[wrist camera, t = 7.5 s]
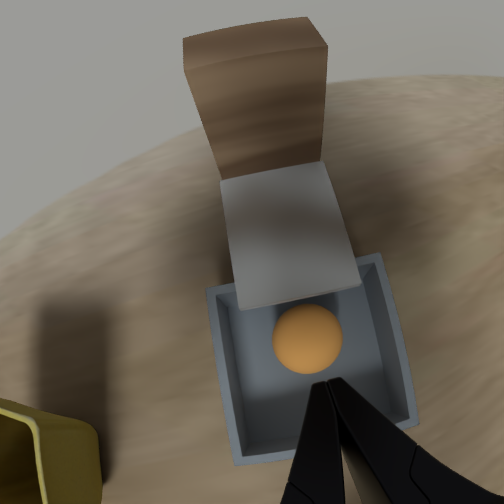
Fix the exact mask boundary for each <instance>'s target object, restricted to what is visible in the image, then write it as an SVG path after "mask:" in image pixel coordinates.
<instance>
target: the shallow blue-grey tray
mask: <svg viewBox="0 0 504 504" xmlns="http://www.w3.org/2000/svg"><path fill="white" fill-rule="evenodd" d="M355 261H356V264H357V268H358V272H359V275H360V279H361V285H360V286H358V287H353V288H349V289H345V290H340V291H336V292H331V293H327V294H322V295H318V296H313V297H309V298H304V299H299V300H294V301H289V302H284V303H280V304H275V305H269V306H264V307H259V308H254V309H249V310H243V311H240V309H239V306H238V300H237V293H236V287H235V282H234V283H229V284H224V285H219V286H214V287H208V288H205V289H206V297H207V304H208V312H209V319H210V326H211V333H212V340H213V346H214V353H215V359H216V366H217V372H218V378H219V384H220V390H221V396H222V402H223V408H224V413H225V419H226V424H227V430H228V435H229V440H230V446H231V451H232V456H233V461H234V466H240V465H250V464H258V463H266V462H273V461H280V460H286V459H292V458H294V455H295V452H296V448H297V444H298V440H299V436H300V432H301V428H302V424H303V420H304V415H305V411H306V407H307V402H308V398H309V393H310V389H311V385H312V384H313V383H316V382H320V381H326V382H327V380H328V379H332V378H335V377H342V378H343V379H344V380H345V381H346V382H347V383H348V384H350V385H351V386H352V387H353V388H354V389H355V390H356V391H357V392H358V393H360V394H361V395H362V396H363V397H364V398H365V399H366V400H367V401H369V402H370V403H371V404H372V405H373V406H374V407H375V408H377V409H378V410H379V411H380V412H381V413H382V414H383V415H385V416H386V417H387V418H388V419H389V420H390V421H391V422H393V423H394V424H395V425H396V426H397V427H398V428H400V429H401V430H405V429H407V428H410V427H413V426H416V425H418V424H419V419H418V412H417V406H416V399H415V394H414V388H413V382H412V377H411V372H410V367H409V362H408V357H407V352H406V348H405V343H404V339H403V334H402V330H401V326H400V322H399V318H398V314H397V310H396V306H395V302H394V298H393V295H392V291H391V287H390V284H389V280H388V277H387V273H386V270H385V267H384V263H383V260H382V257H381V253H380V252H378V253H374V254H369V255H365V256H360V257H356V258H355ZM301 304H316V305H319V306H322V307H324V308H326V309H328V310H329V311H330V312H331V313H332V314H333V315H334V316H335V317H336V318H337V320H338V321H339V323H340V326H341V328H342V333H343V343H342V347H341V351H340V353H339V355H338V357H337V358H336V360H335V361H334V362H333V363H332V364H331V365H330V366H329V367H327V368H326V369H324V370H322V371H320V372H317V373H312V374H301V373H297V372H294V371H291V370H289V369H288V368H286V367H285V366H284V365H283V364H282V363H281V362H280V361H279V360H278V358H277V357H276V355H275V353H274V350H273V346H272V334H273V329H274V326H275V324H276V322H277V321H278V319H279V318H280V317H281V315H282V314H283V313H284V312H286V311H287V310H289V309H290V308H292V307H294V306H297V305H301Z"/></svg>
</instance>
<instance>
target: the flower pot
mask: <svg viewBox="0 0 504 504" xmlns="http://www.w3.org/2000/svg"><path fill="white" fill-rule="evenodd" d="M102 489H103V484H102V476H101V467H100V457H99V442H98V435H97V432H96V431H95V429H94V428H93V427H92V426H91V425H90V424H88V423H86V422H84V421H81V420H77V419H73V418H68V417H64V416H60V415H56V414H52V413H48V412H44V411H41V410H37V409H34V408H31V407H28V406H25V405H22V404H19V403H16V402H13V401H10V400H6V399H2V398H0V504H101V500H102Z"/></svg>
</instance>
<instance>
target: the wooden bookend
mask: <svg viewBox="0 0 504 504" xmlns="http://www.w3.org/2000/svg"><path fill="white" fill-rule="evenodd" d="M327 56H328V45H327V44H326V42H325V41H324V40H323V38H322V37H321V35H320V34H319V32H318V31H317V30H316V28H315V27H314V25H313V24H312V23H311V21H310V20H309V19H308V17H299V18H288V19H279V20H271V21H265V22H257V23H251V24H245V25H240V26H234V27H229V28H224V29H219V30H215V31H210V32H206V33H202V34H197V35H193V36H189V37H186V38H183V61H184V62H183V63H184V73H185V76H186V78H187V81H188V84H189V87H190V90H191V93H192V95H193V98H194V101H195V104H196V107H197V110H198V112H199V115H200V118H201V121H202V124H203V126H204V129H205V132H206V135H207V138H208V140H209V143H210V146H211V149H212V152H213V155H214V157H215V160H216V163H217V166H218V169H219V171H220V174H221V177H222V180H221V181H219V182H220V189H221V196H222V202H223V209H224V216H225V223H226V229H227V236H228V242H229V249H230V255H231V262H232V268H233V275H234V281H235V287H236V293H237V300H238V306H239V309H240V311H243V310H249V309H254V308H259V307H264V306H269V305H275V304H280V303H284V302H289V301H294V300H299V299H304V298H309V297H313V296H318V295H322V294H327V293H331V292H336V291H340V290H345V289H349V288H353V287H358V286H360V285H361V279H360V275H359V272H358V268H357V264H356V261H355V257H354V254H353V250H352V247H351V244H350V240H349V237H348V234H347V230H346V227H345V224H344V221H343V218H342V214H341V211H340V208H339V205H338V202H337V199H336V196H335V193H334V190H333V187H332V184H331V181H330V179H329V176H328V173H327V170H326V167H325V164H324V162H323V161H320V156H321V145H322V133H323V121H324V107H325V93H326V76H327Z"/></svg>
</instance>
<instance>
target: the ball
mask: <svg viewBox="0 0 504 504" xmlns="http://www.w3.org/2000/svg"><path fill="white" fill-rule="evenodd" d="M342 343H343V333H342V328H341V326H340V323H339V321H338V320H337V318H336V317H335V316H334V315H333V314H332V313H331V312H330V311H329V310H328V309H326V308H324V307H322V306H319V305H316V304H301V305H297V306H294V307H292V308H290V309H289V310H287V311H286V312H284V313H283V314H282V315H281V317H280V318H279V319H278V321H277V322H276V324H275V326H274V329H273V334H272V346H273V350H274V353H275V355H276V357H277V358H278V360H279V361H280V362H281V363H282V364H283V365H284V366H285V367H286V368H288V369H289V370H291V371H294V372H297V373H301V374H312V373H317V372H320V371H322V370H324V369H326V368H327V367H329V366H330V365H331V364H332V363H333V362H334V361H335V360H336V358H337V357H338V355H339V353H340V351H341V347H342Z"/></svg>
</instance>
